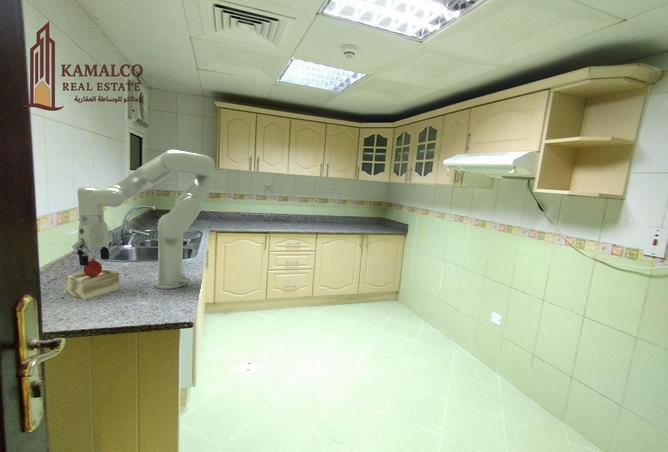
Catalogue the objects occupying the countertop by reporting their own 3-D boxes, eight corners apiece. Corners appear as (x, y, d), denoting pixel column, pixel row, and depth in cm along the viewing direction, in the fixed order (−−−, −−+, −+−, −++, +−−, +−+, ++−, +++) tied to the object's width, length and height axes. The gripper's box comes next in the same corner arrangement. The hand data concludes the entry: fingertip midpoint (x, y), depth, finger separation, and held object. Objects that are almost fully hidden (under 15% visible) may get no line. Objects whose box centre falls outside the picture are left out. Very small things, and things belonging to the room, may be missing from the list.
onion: (81, 280, 121) (80, 260, 120) (88, 275, 127) (87, 256, 126) (98, 280, 123) (98, 260, 122) (104, 275, 128) (104, 256, 127)
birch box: (119, 290, 130) (118, 272, 129) (84, 300, 118) (83, 281, 117) (101, 285, 134) (100, 268, 132) (66, 294, 122) (65, 275, 120)
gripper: (81, 223, 112) (84, 269, 115) (118, 217, 129) (120, 257, 132) (61, 221, 113) (65, 267, 116) (101, 215, 130) (104, 255, 133)
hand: (95, 262), depth 124 cm, fingers open, 9 cm apart
